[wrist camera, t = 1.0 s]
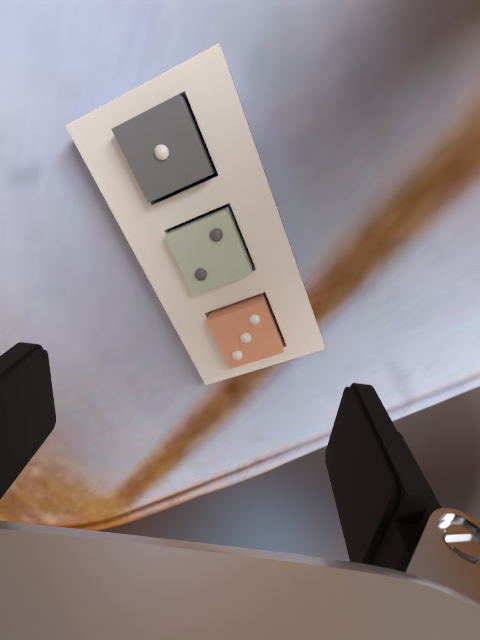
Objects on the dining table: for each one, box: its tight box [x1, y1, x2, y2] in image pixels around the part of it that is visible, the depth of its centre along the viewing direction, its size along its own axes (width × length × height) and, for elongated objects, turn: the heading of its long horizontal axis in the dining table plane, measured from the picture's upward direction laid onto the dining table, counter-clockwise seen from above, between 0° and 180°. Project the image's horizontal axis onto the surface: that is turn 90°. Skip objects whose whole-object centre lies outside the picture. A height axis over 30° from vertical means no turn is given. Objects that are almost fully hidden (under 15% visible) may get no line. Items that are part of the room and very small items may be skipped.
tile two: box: [164, 206, 253, 295], centre depth 32 cm, size 6×6×3 cm
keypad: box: [65, 43, 325, 385], centre depth 34 cm, size 14×28×3 cm, turn 22°
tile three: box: [206, 293, 284, 369], centre depth 36 cm, size 6×6×3 cm
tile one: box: [111, 94, 216, 203], centre depth 29 cm, size 6×6×3 cm
